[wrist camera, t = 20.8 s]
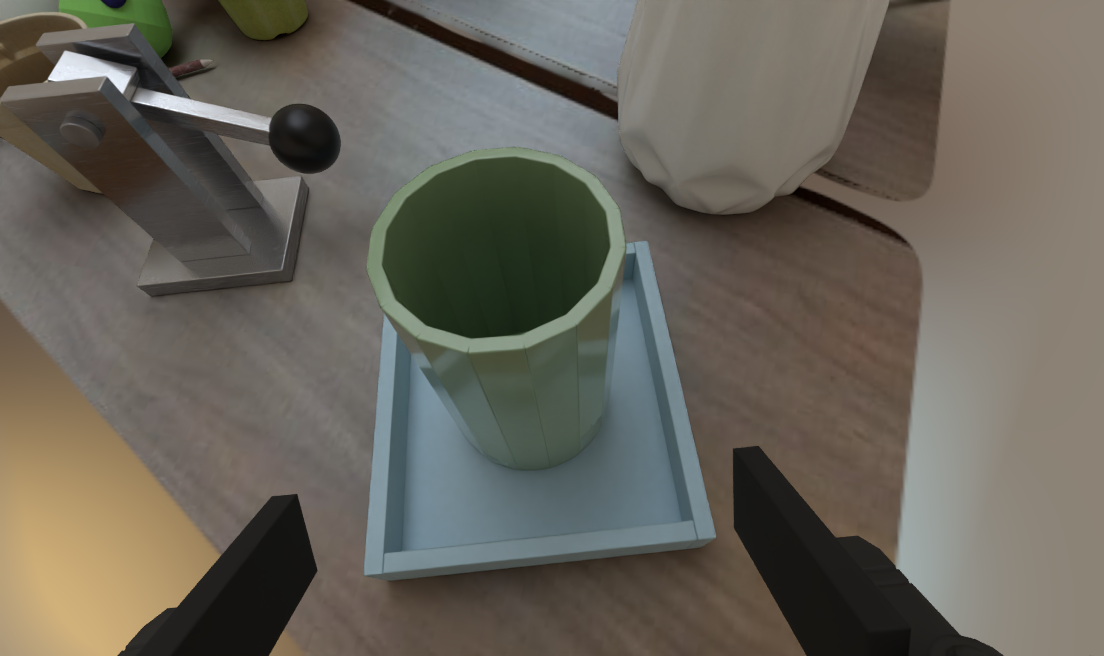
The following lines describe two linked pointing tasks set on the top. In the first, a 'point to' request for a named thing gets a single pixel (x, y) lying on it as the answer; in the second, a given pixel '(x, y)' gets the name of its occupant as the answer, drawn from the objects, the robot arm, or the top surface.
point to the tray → (543, 495)
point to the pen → (189, 67)
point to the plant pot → (266, 16)
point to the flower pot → (15, 60)
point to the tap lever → (219, 115)
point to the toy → (125, 17)
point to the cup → (507, 297)
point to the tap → (163, 171)
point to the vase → (740, 94)
